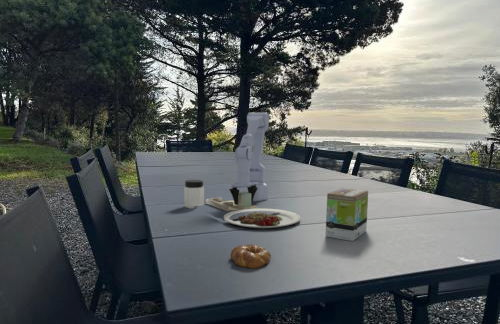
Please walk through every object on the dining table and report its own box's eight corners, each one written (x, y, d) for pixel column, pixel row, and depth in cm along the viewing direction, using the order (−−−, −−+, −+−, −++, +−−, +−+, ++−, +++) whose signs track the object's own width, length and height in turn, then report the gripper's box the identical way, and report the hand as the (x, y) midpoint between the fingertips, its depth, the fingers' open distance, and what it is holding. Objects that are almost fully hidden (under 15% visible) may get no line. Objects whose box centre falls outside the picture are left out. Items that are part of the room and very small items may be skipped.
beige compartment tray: (235, 201, 183) (235, 195, 182) (258, 209, 166) (258, 202, 166) (206, 205, 174) (206, 199, 174) (226, 213, 157) (226, 206, 157)
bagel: (274, 269, 95) (274, 255, 94) (231, 270, 94) (231, 256, 93) (268, 254, 107) (268, 241, 106) (230, 254, 106) (230, 242, 105)
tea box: (354, 242, 118) (356, 195, 116) (324, 237, 123) (325, 193, 122) (367, 231, 130) (368, 189, 129) (339, 227, 136) (340, 187, 134)
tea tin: (243, 203, 173) (243, 191, 172) (251, 206, 167) (251, 193, 166) (235, 204, 171) (235, 191, 170) (243, 207, 165) (243, 194, 164)
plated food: (260, 209, 167) (260, 202, 166) (316, 221, 145) (316, 213, 145) (207, 220, 146) (207, 212, 145) (263, 236, 124) (263, 226, 124)
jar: (207, 207, 170) (207, 181, 169) (191, 209, 165) (191, 182, 164) (196, 204, 177) (196, 179, 176) (181, 206, 172) (181, 180, 171)
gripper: (233, 175, 160) (233, 206, 161) (261, 173, 168) (261, 203, 169) (226, 173, 166) (226, 203, 167) (253, 172, 174) (253, 200, 175)
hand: (243, 203), depth 169 cm, fingers open, 7 cm apart
